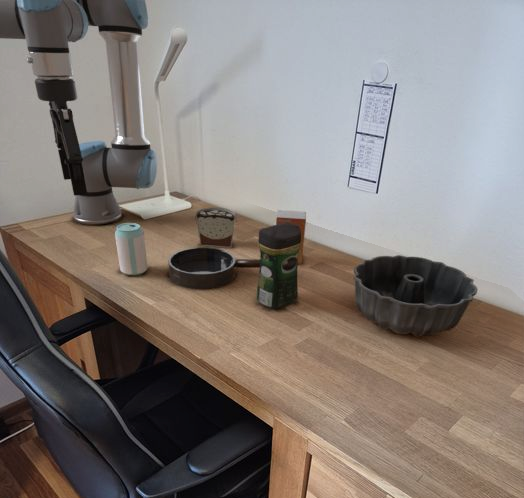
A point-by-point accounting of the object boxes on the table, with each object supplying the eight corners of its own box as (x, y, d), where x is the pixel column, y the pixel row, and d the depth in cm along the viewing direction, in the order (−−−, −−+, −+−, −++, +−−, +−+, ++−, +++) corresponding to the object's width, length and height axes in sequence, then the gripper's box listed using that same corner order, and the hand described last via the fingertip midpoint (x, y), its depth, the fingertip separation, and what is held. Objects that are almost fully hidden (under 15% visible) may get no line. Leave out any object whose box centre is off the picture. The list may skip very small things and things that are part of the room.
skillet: (172, 260, 127) (171, 247, 124) (234, 260, 128) (234, 247, 126) (166, 289, 112) (165, 274, 110) (236, 288, 114) (236, 274, 112)
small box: (273, 262, 128) (275, 216, 121) (274, 253, 133) (276, 209, 126) (302, 264, 128) (306, 218, 120) (301, 255, 133) (306, 211, 126)
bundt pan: (326, 299, 111) (331, 260, 106) (415, 284, 120) (424, 248, 114) (389, 358, 91) (400, 315, 86) (490, 336, 100) (505, 295, 94)
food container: (239, 240, 141) (239, 208, 135) (236, 248, 136) (236, 215, 130) (200, 237, 142) (198, 205, 136) (195, 245, 136) (194, 212, 131)
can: (120, 266, 122) (113, 222, 115) (147, 264, 124) (142, 221, 117) (120, 277, 117) (113, 232, 110) (148, 275, 118) (143, 230, 111)
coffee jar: (280, 289, 115) (284, 216, 104) (302, 301, 110) (309, 226, 99) (250, 300, 109) (252, 224, 99) (272, 313, 104) (276, 235, 94)
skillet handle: (233, 269, 119) (233, 261, 118) (233, 265, 121) (233, 257, 120) (283, 269, 120) (284, 261, 119) (282, 265, 122) (283, 258, 121)
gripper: (27, 72, 99) (50, 174, 111) (41, 83, 81) (66, 203, 93) (64, 72, 102) (82, 171, 114) (85, 83, 84) (104, 199, 96)
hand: (75, 186), depth 103 cm, fingers open, 13 cm apart
